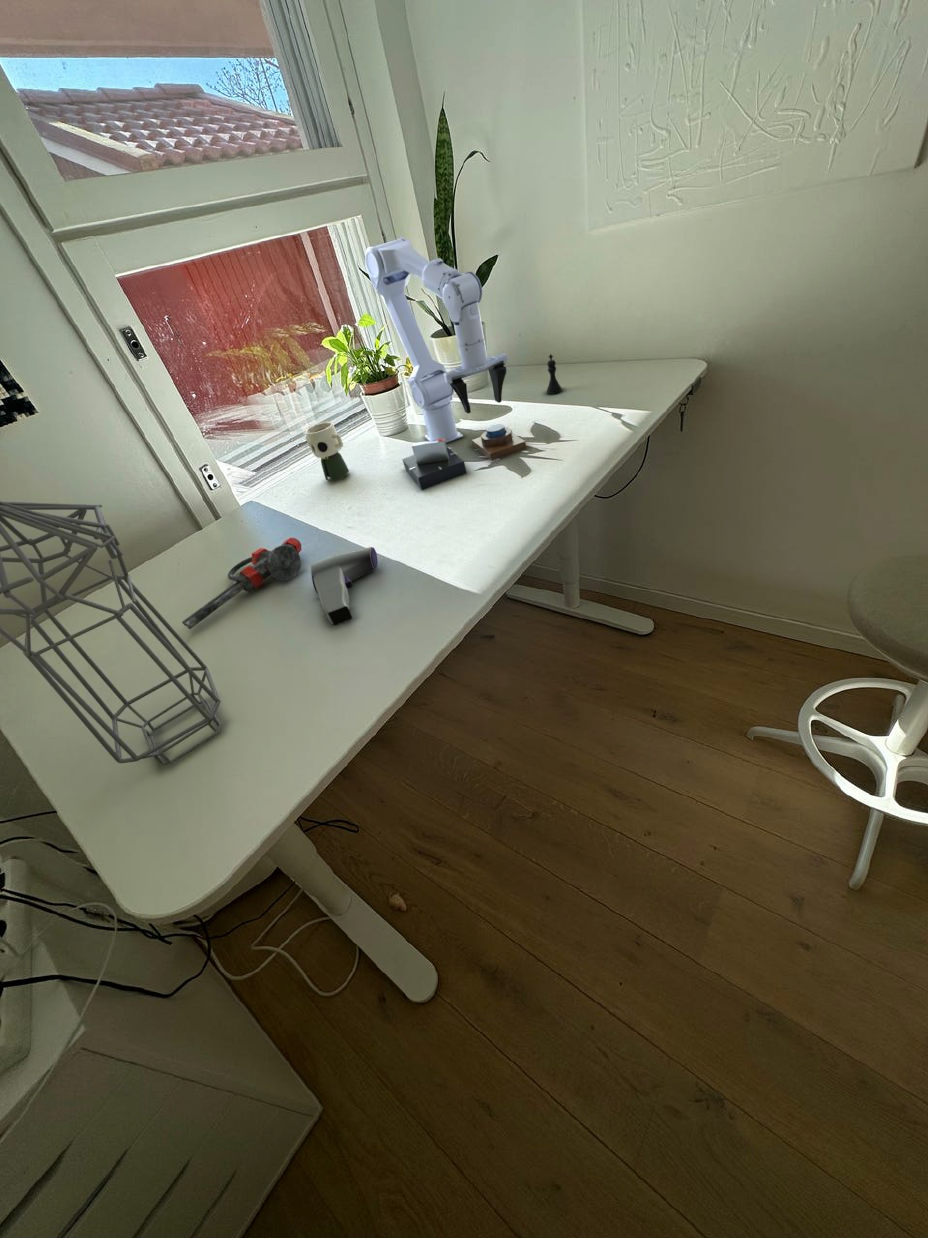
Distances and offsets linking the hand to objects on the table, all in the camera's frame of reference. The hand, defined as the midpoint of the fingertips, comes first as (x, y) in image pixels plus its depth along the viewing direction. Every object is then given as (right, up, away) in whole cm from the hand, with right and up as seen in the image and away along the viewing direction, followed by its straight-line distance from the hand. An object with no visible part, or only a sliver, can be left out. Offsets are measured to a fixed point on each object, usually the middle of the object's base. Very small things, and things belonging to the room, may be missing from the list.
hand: (483, 406), depth 118 cm
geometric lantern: (-43, -64, -47) cm, 90 cm away
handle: (-12, -12, +1) cm, 17 cm away
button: (+3, -5, +5) cm, 8 cm away
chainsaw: (-46, -43, -19) cm, 66 cm away
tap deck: (-11, -14, +4) cm, 18 cm away
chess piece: (+21, +16, +30) cm, 40 cm away
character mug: (-37, -12, +15) cm, 41 cm away
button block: (+4, -7, +7) cm, 11 cm away
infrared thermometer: (-23, -44, -29) cm, 57 cm away
